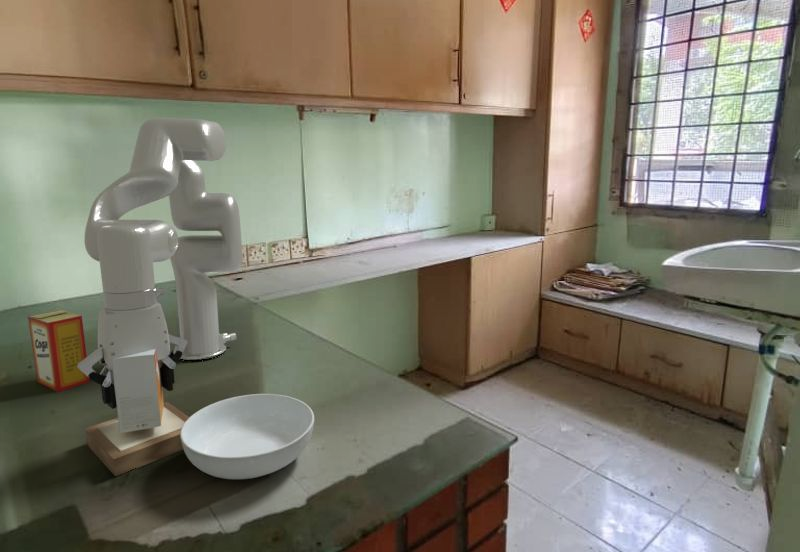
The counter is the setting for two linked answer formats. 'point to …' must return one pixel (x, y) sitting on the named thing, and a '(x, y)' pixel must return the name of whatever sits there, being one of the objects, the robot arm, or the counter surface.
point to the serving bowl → (247, 435)
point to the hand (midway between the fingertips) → (140, 396)
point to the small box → (138, 391)
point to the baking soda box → (58, 349)
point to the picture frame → (136, 441)
